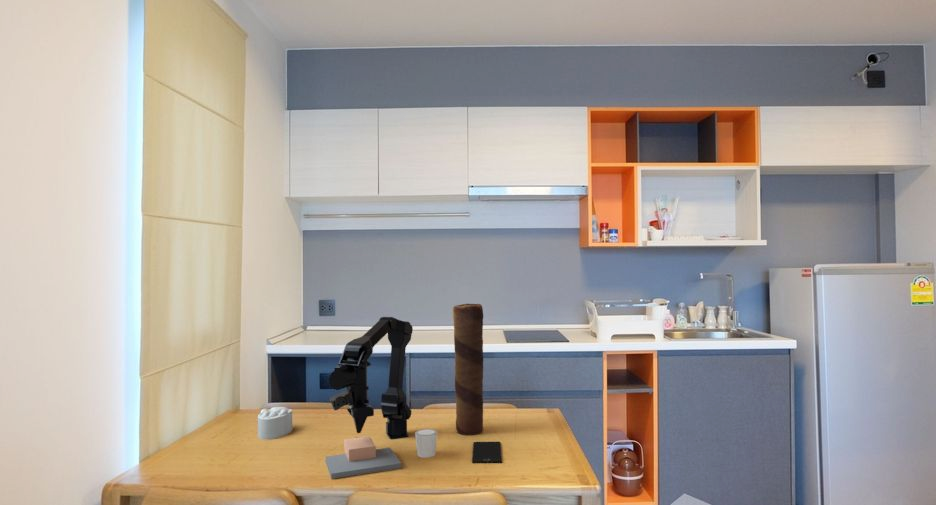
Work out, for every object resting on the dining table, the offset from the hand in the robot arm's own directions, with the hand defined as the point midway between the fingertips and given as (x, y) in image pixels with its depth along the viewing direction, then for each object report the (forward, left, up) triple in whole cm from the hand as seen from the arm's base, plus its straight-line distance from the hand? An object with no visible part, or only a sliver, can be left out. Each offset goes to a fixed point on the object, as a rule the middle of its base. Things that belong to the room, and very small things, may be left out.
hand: (358, 432), depth 170 cm
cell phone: (-38, +13, -8) cm, 41 cm away
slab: (0, -3, -4) cm, 5 cm away
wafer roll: (-41, -9, -8) cm, 43 cm away
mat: (0, +8, -7) cm, 10 cm away
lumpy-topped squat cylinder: (+24, -35, -8) cm, 43 cm away
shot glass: (-20, +7, -8) cm, 22 cm away
